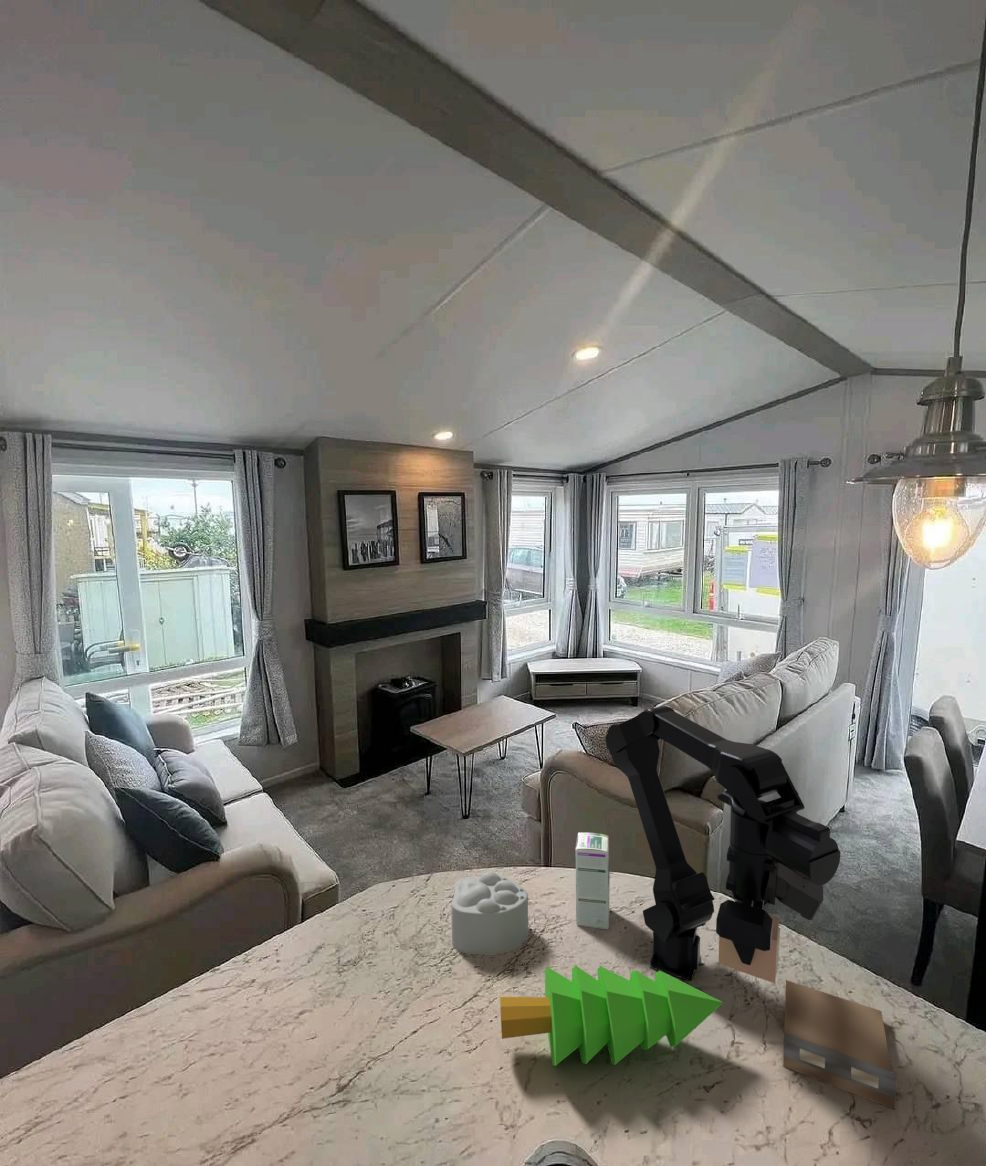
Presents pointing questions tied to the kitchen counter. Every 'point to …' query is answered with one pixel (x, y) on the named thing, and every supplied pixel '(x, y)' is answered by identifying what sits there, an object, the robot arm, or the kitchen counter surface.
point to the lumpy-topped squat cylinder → (488, 914)
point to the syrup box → (592, 880)
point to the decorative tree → (606, 1012)
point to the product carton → (754, 956)
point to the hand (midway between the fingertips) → (748, 950)
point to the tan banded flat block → (838, 1043)
